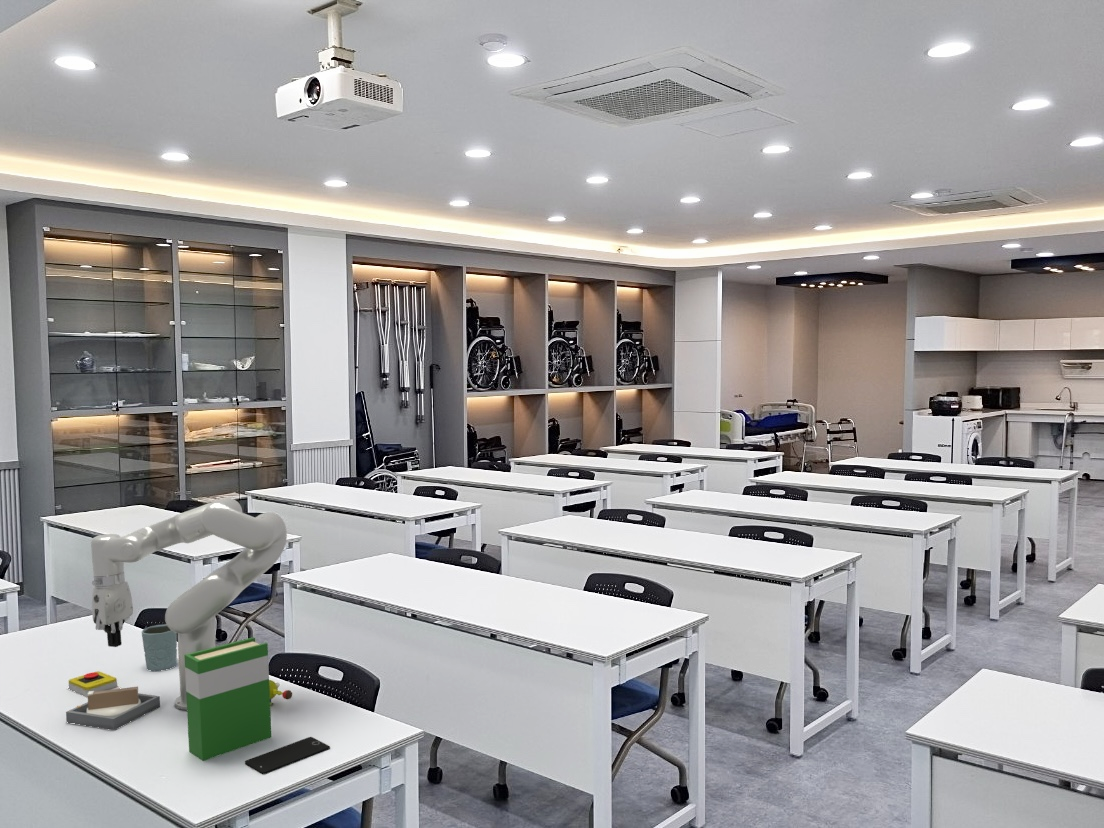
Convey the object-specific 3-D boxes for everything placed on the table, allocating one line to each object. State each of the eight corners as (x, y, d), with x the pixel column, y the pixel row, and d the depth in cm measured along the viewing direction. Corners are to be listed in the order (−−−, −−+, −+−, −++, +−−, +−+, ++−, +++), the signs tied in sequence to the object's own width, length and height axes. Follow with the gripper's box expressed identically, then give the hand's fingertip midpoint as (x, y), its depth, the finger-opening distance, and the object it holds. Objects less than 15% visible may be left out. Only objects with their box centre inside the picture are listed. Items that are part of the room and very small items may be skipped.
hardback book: (257, 729, 229) (253, 637, 228) (271, 737, 224) (267, 643, 223) (189, 751, 217) (184, 654, 215) (202, 761, 212) (197, 661, 210)
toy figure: (299, 707, 243) (298, 682, 243) (284, 714, 239) (283, 689, 238) (254, 695, 252) (253, 671, 252) (238, 702, 248) (237, 678, 247)
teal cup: (162, 673, 272) (160, 635, 271) (135, 670, 275) (133, 632, 274) (186, 662, 281) (184, 625, 280) (160, 659, 284) (158, 622, 284)
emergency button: (95, 665, 268) (122, 675, 260) (96, 680, 269) (122, 690, 260) (63, 675, 261) (89, 685, 252) (64, 689, 261) (90, 700, 252)
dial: (143, 698, 249) (142, 678, 248) (137, 716, 236) (136, 694, 236) (91, 705, 245) (90, 684, 244) (82, 723, 232) (81, 701, 232)
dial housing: (160, 706, 245) (159, 695, 245) (113, 730, 230) (113, 718, 230) (114, 700, 251) (114, 689, 251) (66, 723, 236) (65, 711, 236)
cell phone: (331, 750, 217) (331, 746, 217) (263, 776, 204) (262, 772, 204) (311, 739, 223) (311, 736, 223) (243, 764, 210) (243, 761, 210)
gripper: (97, 587, 236) (103, 655, 237) (141, 573, 250) (146, 638, 251) (76, 586, 239) (81, 653, 240) (120, 572, 253) (125, 636, 254)
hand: (114, 645), depth 246 cm, fingers closed
